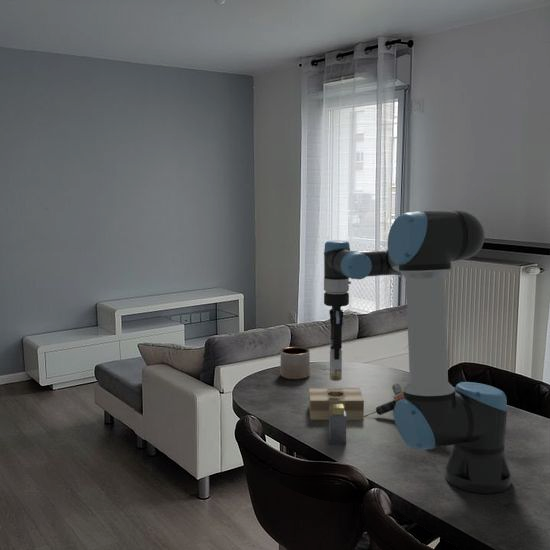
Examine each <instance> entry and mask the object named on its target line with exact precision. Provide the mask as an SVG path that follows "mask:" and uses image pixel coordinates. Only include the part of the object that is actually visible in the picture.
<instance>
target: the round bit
mask: <svg viewBox="0 0 550 550" xmlns="http://www.w3.org/2000/svg"><path fill="white" fill-rule="evenodd" d="M332 346H333V340H332V341H331V340H330V347H332ZM342 359H343V350H342V349H341V369H332V349H330V350H329V379H330V381H335V382H336V381H337V382H339V381H341V380H342V378H343V376H342V373H343V372H342V371H343V369H342V367H343V364H342V363H343V360H342Z"/></svg>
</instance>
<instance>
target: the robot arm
mask: <svg viewBox="0 0 550 550" xmlns="http://www.w3.org/2000/svg"><path fill="white" fill-rule="evenodd" d="M387 235H388V237H387V248H386V249H371V250H368V249H367V250H351V247H350V242H349V241H347V240H339V239H338V240H335V239H334V240H328V241H326V242H325V243H324V250H323V263H324V265H323V266H324V267H323V275H324V276H323V291H324V293H323V303H324V305H325V306H328V307H331V308H330V309H329V312H328V313H329V323H330V337H329V338H330V342H331V341H332V340H333V346H332V347H331V346H329V349H330V350H331V349H332V369H341V350H342V347H343V345H342V335H343V333H342V332H343V331H342V330H343V329H342V328H343V318H344V311H343V309H342V308H341V307H346V306H348V305H349V304H350V293H349V291H350V285H351V284H352V281H351V280H363V279H365V278H367V277H378V276H380V277H381V276H400V275H402V276H403V277H404V279H405V286H406V289H405V290H406V294H405V295H406V313H407V315H406V316H407V318H406V319H407V320H406V321H407V342H408V347H407V349H408V368H409V369H408V372H409V373H408V375H409V382H408V383H407V384H406V385H404V387H403V390H402V392H403V393H404V399H400V400H399V401H397V402H396V404H395V405H396V406H395V407H394V410H393V417H394V423H395V424H394V425H395V426H396V429H397V432H398V434H399V435H400V437H401V439H402V440H403V442H404V443H405V444H406V445H407V446H408V447H410V449H413V450H419V451H420V450H433V449H435V448H441V447H447V446H452V449H451V451H450V454H449V456H448V459H447V462H446V464H445V471H444V473H445V474H444V477H445V479H446V481H448V482H449V483H450V485H452V486H454V487H456V488H458V489H461V490H463V491H467V492H471V493H475V494H484V495H485V494H488V495H489V494H497V493H502V492H504V491H507V490H508V489H509V488H510V487H511V484H512V472H511V469H510V465H509V463H508V459H507V456H506V452H505V451H506V449H505V448H506V445H505V444H506V429H507V413H508V408H507V407H508V406H507V399H508V398H507V396H506V394H505V392H504V391H503V390H501V389H499V388H497V387H494V386H492V385H489V384H484V383H478V382H471V381H460V382H458V383H457V384H456V385H455V387H454V386H453V385H452V384H451V383H450V382H449V376H448V375H449V374H448V373H449V371H448V346H447V345H448V342H447V316H446V312H447V311H446V289H445V287H446V286H445V285H446V284H445V281H446V280H445V279H446V276H447V275H448V274H449V273H450V272H451V271H452V262H455V261H463V260H467V259H470V258H472V257H474V256H475V255H476V254H478V253H479V252H480V251H481V249H482V248H483V245H484V243H485V237H486V236H485V230H484V227H483V225H482V223H481V222H480V220H479V219H478V218H477V217H476V216H474V215H473V214H472V213H469V212H467V211H462V210H439V211H438V210H430V211H429V210H425V211H424V210H423V211H421V210H420V211H419V210H417V211H409V212H405V213H401V214H400V215H398V216H397V217H396V218H395V219H394V220H393V223H392V224H391V226H390V228H389V232H388V234H387ZM350 279H351V280H350Z"/></svg>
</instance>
